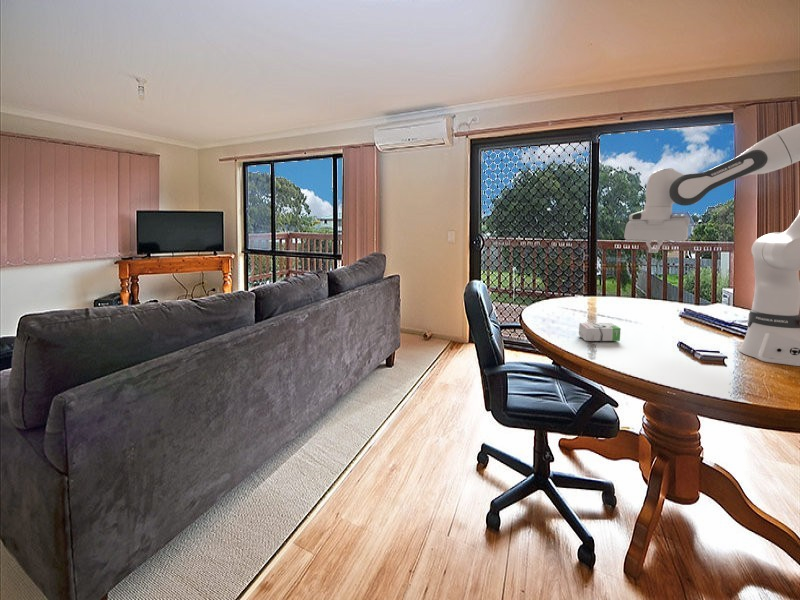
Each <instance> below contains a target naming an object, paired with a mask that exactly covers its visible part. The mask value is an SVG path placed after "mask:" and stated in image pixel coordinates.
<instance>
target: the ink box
mask: <svg viewBox="0 0 800 600" xmlns="http://www.w3.org/2000/svg"><path fill="white" fill-rule="evenodd" d="M621 330H622V329H621V328H620V327H619V326H617V325H616V324H614V323H613V322H579V327H578V336H579V337H582V338H583V339H582V338H581V339H582V340H584V342H585V341H586V342H598V341H603V342H620V341H621Z"/></svg>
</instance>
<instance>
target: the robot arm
mask: <svg viewBox="0 0 800 600" xmlns="http://www.w3.org/2000/svg"><path fill="white" fill-rule="evenodd" d="M798 162H800V123H797V124H795V125H792V126H789V127H787V128H784V129H782V130H779V131H778V132H775V133H773V134H771V135H768V136H767V137H764V138H763V139H761V140H760V141H758V142H757V143H755V144H753V145H751V146H750V147H749V148H747V149H746V150H744V152H742V153H740V154H739V155H738V156H736V157H733V159H731V160H728V161H726V162H724V163H721V164H719V165H717V166H714V167H713V168H710V169H708V170H705V171H702V172H697V173H688V174H685V173H681V172H679V171H678V170H676V169H674V168H671V167H670V168H669V167H668V168H663V169H658V170H655V171H653V172H652V173H650V174H649V176H648V178H647V181H646V187H645V194H644V195H645V203H644V206H643V210H641V211H637V212H634V213H631V214H629V216H628V219H629V221H628V222H627V223H626V225H625V228H624V229H625V230H624V234H623V237H624V239H625V240H626V241H627V240H628V241H645V244H646V246H647V248H648V251H647V253H648V254H649V253H650V254H652V253H654V254H658V253H659V249H660V247H661V246H662V245H663V243H664V242H665V241H666V242H667V241H669V242H670V241H673V242H685V241H686V240H688V238H689V227H690V225H691V217H690V216H688V215H687V214H673V213H672V212H673V205H674V204H676V205H678V206H679V205H680V206H684V207H685V206H691V205H695V204H697V203H699V202H700V201H701V200H702V199H703V198H704V197H705V196H706V195H707V194H708V193H709V192H711V191H712V190H715V189H717V188H719V187H721V186H724V185H726V184H728V183H731V182H733V181H735V180H737V179H740V178H742V177H747V176H751V175H764V174H768V173H772V172H774V171H778V170H780V169H784V168H786V167H788V166H791V165H793V164H795V163H798ZM652 241H656V244H657V246H656V247H652V245H651V244H652V243H653V242H652ZM750 251H751V255H752V257H753V270H754V292H753V293H754V294H753V301H752V306H751V309H750V310H749V313H748V317H747V330H746V333H745V337H744V339H743V342H742V344H741V345H740V347H739V348H738V351H739V352H740V353H741V354H743V355H746V356H749V357H751V358H755V359H757V360H760V361H761V362H766V363H773V364H780V365H788V366H794V367H800V275H799V271H800V209H799V211H798V214H797V216H796V217H795V219H794V220H793V221H792V223H791V224H790V226H789V227H788V228H787V229H786V230H784V231H782V232H780V231H779V232H778V231H774V232H770V233H767V234H764V235H762V236H760V237H758V238H757V239H755V241H754V242H753V244H752V245H751V250H750Z"/></svg>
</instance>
